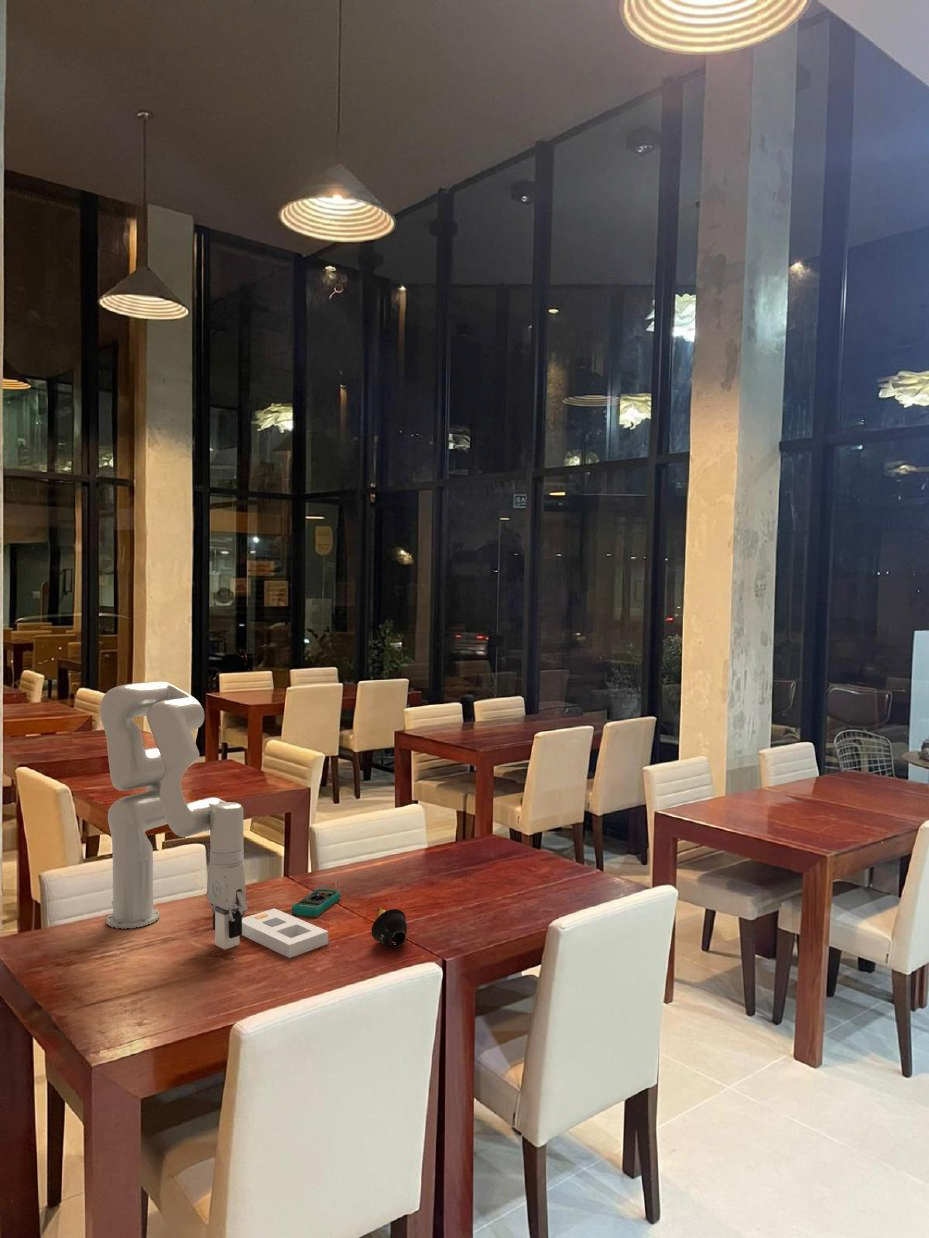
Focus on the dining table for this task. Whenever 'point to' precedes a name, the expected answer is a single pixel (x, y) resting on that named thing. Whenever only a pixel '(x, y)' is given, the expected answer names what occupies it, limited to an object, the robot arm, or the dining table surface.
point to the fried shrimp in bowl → (390, 927)
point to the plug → (224, 929)
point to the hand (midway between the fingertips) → (227, 931)
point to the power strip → (283, 932)
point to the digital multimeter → (316, 902)
